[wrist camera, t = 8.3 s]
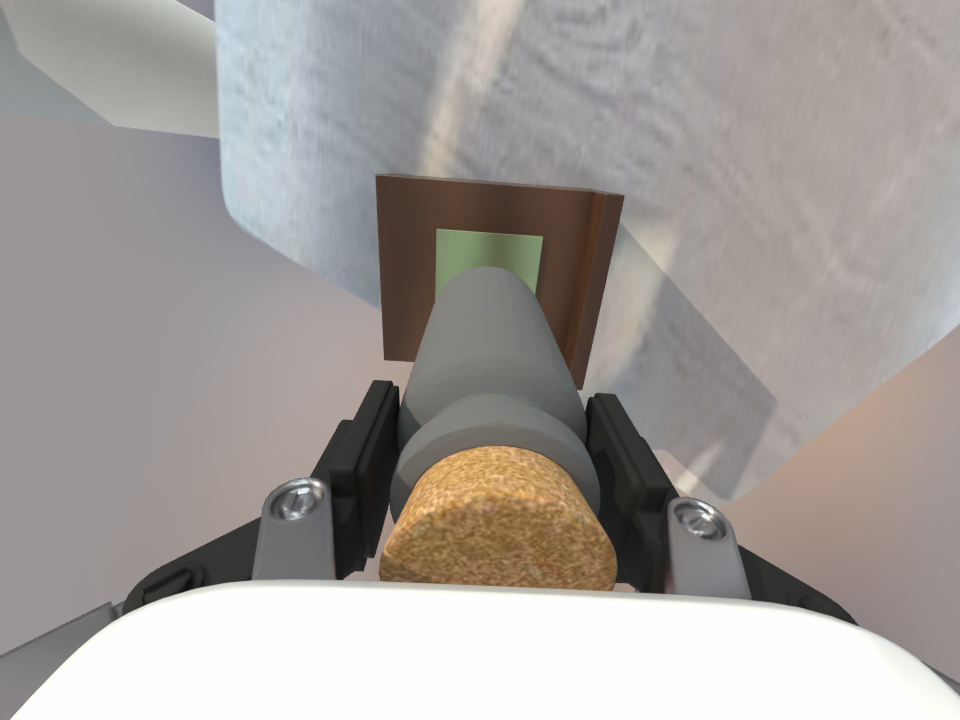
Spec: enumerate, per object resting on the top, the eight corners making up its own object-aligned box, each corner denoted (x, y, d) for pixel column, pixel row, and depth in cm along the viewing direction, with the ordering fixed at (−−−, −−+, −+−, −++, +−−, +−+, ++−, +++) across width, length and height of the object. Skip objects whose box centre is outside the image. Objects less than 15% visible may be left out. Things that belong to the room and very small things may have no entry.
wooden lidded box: (395, 337, 36) (375, 378, 29) (390, 173, 30) (362, 174, 23) (562, 347, 37) (582, 390, 30) (591, 189, 31) (625, 195, 23)
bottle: (413, 291, 20) (284, 532, 7) (516, 246, 19) (603, 425, 6) (460, 379, 23) (432, 686, 9) (554, 343, 22) (676, 629, 8)
